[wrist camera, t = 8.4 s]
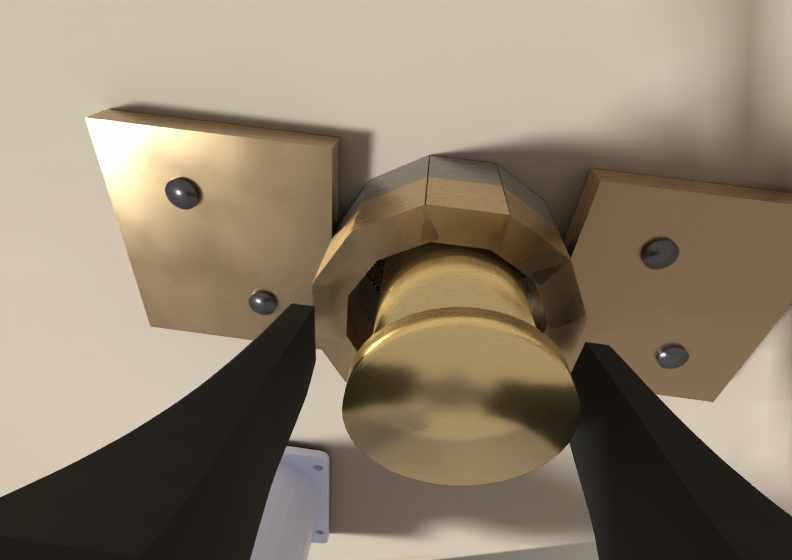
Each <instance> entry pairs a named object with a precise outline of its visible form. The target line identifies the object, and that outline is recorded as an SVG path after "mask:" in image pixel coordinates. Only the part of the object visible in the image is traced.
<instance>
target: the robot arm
mask: <svg viewBox="0 0 792 560" xmlns="http://www.w3.org/2000/svg"><path fill="white" fill-rule="evenodd" d="M315 362H316V349H315V306H309V305H302V304H294V303H292V304H290V305H289V306H288V307H287V308H286V309H285V310H284V311H283V312H282V313H281V314H280V315H279V316H278V317H277V318H276V319H275V320H274V321H273V322H272V323H271V324H270V325H269V326H268V327H267V328H266V329H265V330H264V331H263V332H262V333H261V334H260V335H259V336H258V337H257V338H255V339H254V340H253V341H252V342H251V343H250V344H249V345H248V346H247V347H246V348H245V349H244V350H242V351H241V352H240V353H239V354H238V355H237V356H236V357H235V358H233V359H232V360H231V361H230V362H229V363H227V364H226V365H225V366H224V367H223V368H221V369H220V370H219V371H218V372H217V373H215V374H214V375H213V376H212V377H211V378H209V379H208V380H207V381H205V382H204V383H203V384H201V385H200V386H199V387H198V388H196V389H195V390H194V391H192V392H191V393H189V394H188V395H187V396H185V397H184V398H182V399H181V400H180V401H178V402H177V403H175V404H174V405H172V406H171V407H169V408H168V409H166V410H165V411H163V412H162V413H160V414H159V415H157V416H155V417H154V418H152V419H151V420H149V421H148V422H146V423H144V424H143V425H141V426H140V427H138V428H136V429H135V430H133V431H131V432H130V433H128V434H126V435H125V436H123V437H121V438H119V439H117V440H116V441H114V442H112V443H110V444H108V445H107V446H105V447H103V448H101V449H99V450H97V451H96V452H94V453H92V454H90V455H88V456H86V457H84V458H82V459H80V460H79V461H77V462H75V463H73V464H71V465H69V466H67V467H65V468H63V469H61V470H58V471H56V472H54V473H52V474H50V475H48V476H46V477H43V478H41V479H39V480H37V481H35V482H33V483H31V484H28V485H26V486H24V487H22V488H20V489H18V490H16V491H13V492H11V493H9V494H7V495H4V496H2V497H0V560H307V558H308V554H309V549H310V545H311V542H313V543H321V544H323V543H326V542H327V541H328V538H329V455H328V454H327V453H325V452H324V451H320V450H312V449H305V448H298V447H291V446H287V444H288V441H289V439H290V436H291V434H292V431H293V428H294V426H295V423H296V421H297V418H298V416H299V413H300V411H301V408H302V406H303V403H304V401H305V398H306V395H307V392H308V388H309V385H310V381H311V377H312V373H313V369H314V366H315ZM571 376H572V379H573V382H574V385H575V388H576V391H577V393H578V397H579V402H580V419H579V424H578V427H577V429H576V432H575V434H574V436H573V437H572V439H571V440H570V442H569V443H570V446H571V450H572V454H573V457H574V461H575V464H576V468H577V471H578V475H579V478H580V482H581V485H582V489H583V492H584V496H585V499H586V503H587V506H588V510H589V513H590V517H591V522H592V526H593V530H594V534H595V540H596V545H597V551H598V556H599V560H792V516H790V515H789V514H788V513H786V512H785V511H784V510H783V509H781V508H780V507H779V506H777V505H776V504H775V503H773V502H772V501H771V500H770V499H768V498H767V497H766V496H765V495H763V494H762V493H761V492H760V491H758V490H757V489H756V488H755V487H754V486H752V485H751V484H750V483H749V482H748V481H747V480H745V479H744V478H743V477H742V476H741V475H740V474H738V473H737V472H736V471H735V470H734V469H732V468H731V467H730V466H729V465H728V464H727V463H725V462H724V461H723V460H722V459H721V458H720V457H719V456H718V455H717V454H715V453H714V452H713V451H712V450H711V449H710V448H709V447H708V446H707V445H706V444H705V443H704V442H703V441H702V440H701V439H699V438H698V437H697V436H696V435H695V434H694V433H693V432H692V431H691V430H690V429H689V428H688V427H687V426H686V425H685V424H684V423H683V422H682V421H681V420H680V419H679V418H678V417H677V416H676V415H675V414H674V413H673V412H672V411H671V410H670V409H669V408H668V407H667V406H666V405H665V404H664V403H663V402H662V401H661V400H660V399H659V397H658V396H657V395H656V394H655V393H654V392H653V391H652V390H651V389H650V388H649V387H648V386H647V385H646V384H645V383H644V381H643V380H642V379H641V378H640V377H639V376H638V375H637V374H636V373H635V372H634V371H633V370H632V369H631V367H630V366H629V365H628V364H627V363H626V362H625V361H624V360H623V359H622V358H621V357H620V356H619V355H618V354H617V353H616V352H615V351H614V350H613V349H612V348H611V347H610V346H609V345H605V344H598V343H590V342H585V344H584V346H583V348H582V350H581V352H580V355H579V357H578V359H577V361H576V363H575V365H574V367H573V369H572V372H571Z"/></svg>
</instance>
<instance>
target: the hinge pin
mask: <svg viewBox="0 0 792 560" xmlns="http://www.w3.org/2000/svg"><path fill="white" fill-rule="evenodd" d="M342 413H343V420H344V424H345V427H346V430H347V432H348V434H349V436H350V437H351V439H352V440H353V442H354V443H355V444H356V446H357V447H358V448H359V449H360V450H361V451H362V452H363V453H364V454H365V455H367V456H368V457H369V458H370V459H372V460H373V461H375V462H376V463H378V464H379V465H381V466H382V467H384V468H386V469H388V470H390V471H392V472H395V473H397V474H400V475H402V476H405V477H408V478H412V479H415V480H419V481H423V482H428V483H434V484H441V485H454V486H469V485H482V484H489V483H496V482H500V481H505V480H509V479H512V478H515V477H518V476H521V475H524V474H526V473H529V472H531V471H533V470H535V469H537V468H539V467H541V466H543V465H544V464H546V463H547V462H549V461H550V460H552V459H553V458H554V457H555V456H557V455H558V454H559V453H560V452H561V451H562V450H563V449H564V448H565V447H566V446H567V444H568V443H569V442H570V440H571V439H572V437H573V436H574V434H575V432H576V429H577V427H578V424H579V419H580V402H579V397H578V393H577V391H576V388H575V385H574V382H573V379H572V376H571V373H570V371H569V368H568V365H567V363H566V360H565V358H564V356H563V354H562V353H561V351H560V350H559V348H558V347H557V345H556V344H555V343H554V342H553V341H552V340H551V339H550V338H549V337H548V336H547V335H546V334H544V333H543V332H541V331H540V330H539V329H537V328H536V326H535V323H534V319H533V316H532V312H531V309H530V306H529V302H528V299H527V296H526V292H525V289H524V286H523V282H522V279H521V275H520V272H519V270H518V269H517V268H516V267H514V266H513V265H511V264H510V263H509V262H507V261H506V260H504V259H503V258H502V257H500V256H499V255H497V254H496V253H495V252H493V251H492V250H490V249H483V248H475V247H467V246H459V245H451V244H444V243H436V242H429V243H426V244H423V245H420V246H417V247H414V248H411V249H409V250H406V251H403V252H400V253H397V254H394V255H391V256H388V257H386V259H385V265H384V271H383V277H382V284H381V290H380V296H379V302H378V308H377V314H376V320H375V326H374V332H373V335H372V336H371V337H370V338H369V339H368V340H367V341H366V342H365V343H364V344H363V345H362V347H361V348H360V349H359V350H358V352H357V354H356V355H355V357H354V359H353V361H352V364H351V367H350V370H349V375H348V379H347V384H346V389H345V394H344V398H343V406H342Z"/></svg>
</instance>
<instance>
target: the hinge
mask: <svg viewBox="0 0 792 560" xmlns="http://www.w3.org/2000/svg"><path fill="white" fill-rule="evenodd" d="M85 119H86V122H87V125H88V128H89V132H90V135H91V138H92V141H93V144H94V147H95V151H96V154H97V157H98V160H99V163H100V167H101V170H102V173H103V176H104V179H105V183H106V186H107V189H108V192H109V195H110V199H111V202H112V205H113V208H114V211H115V214H116V218H117V221H118V224H119V227H120V230H121V234H122V237H123V240H124V243H125V246H126V250H127V253H128V256H129V259H130V262H131V266H132V269H133V272H134V275H135V278H136V281H137V285H138V288H139V291H140V294H141V297H142V301H143V304H144V307H145V310H146V313H147V317H148V320H149V323H150V326H151V327H159V328H166V329H174V330H181V331H189V332H196V333H204V334H211V335H219V336H226V337H233V338H241V339H248V340H254V339H255V338H257V337H258V336H259V335H260V334H261V333H262V332H263V331H264V330H265V329H266V328H267V327H268V326H269V325H270V324H271V323H272V322H273V321H274V320H275V319H276V318H277V317H278V316H279V315H280V314H281V313H282V312H283V311H284V310H285V309H286V308H287V307H288V306H289V305H290V304H292V303H294V304H302V305H309V306H315V349H322V350H323V352H324V353H325V354H326V356H327V357H328V359H329V360H330V361H331V363H332V364H333V365H334V367H335V368H336V370H337V371H338V372H339V374H340V375H341V376H342V378H343V379H344V381H346V382H347V379H348V375H349V370H350V367H351V364H352V361H353V359H354V357H355V355H356V354H357V352H358V350H359V349H360V348H361V347H362V345H363V344H364V343H365V342H366V341H367V340H368V339H369V338H370V337H371V336H372V335H373V332H374V326H375V320H376V314H377V308H378V302H379V296H378V294H377V292H376V290H375V289H374V287H373V285H372V284H371V282H370V280H369V278H368V277H367V275H366V273H367V272H368V271H369V270H370V269H371V267H372V266H373V265H374V264H375V263H376V261H377V260H380V259H383V258H386V257H388V256H391V255H394V254H397V253H400V252H403V251H406V250H409V249H411V248H414V247H417V246H420V245H423V244H426V243H429V242H436V243H444V244H451V245H459V246H467V247H475V248H483V249H490V250H492V251H493V252H495V253H496V254H497V255H499V256H500V257H502V258H503V259H504V260H506V261H507V262H509V263H510V264H511V265H513V266H514V267H516V268H517V269H518V270H520V271H521V272H523V274H522V277H521V279H522V282H523V286H524V289H525V292H526V296H527V299H528V302H529V306H530V309H531V312H532V316H533V319H534V323H535V326H536V328H537V329H539V330H540V331H541V332H543V333H544V334H546V335H547V336H548V337H549V338H550V339H551V340H552V341H553V342H554V343H555V344H556V345H557V347H558V348H559V350H560V351H561V353H562V354H563V356H564V358H565V360H566V363H567V365H568V368H569V371H570V373H571V372H572V369H573V367H574V365H575V363H576V361H577V359H578V357H579V355H580V352H581V350H582V348H583V346H584V344H585V342H590V343H598V344H605V345H609V346H610V347H611V348H612V349H613V350H614V351H615V352H616V353H617V354H618V355H619V356H620V357H621V358H622V359H623V360H624V361H625V362H626V363H627V364H628V365H629V366H630V367H631V369H632V370H633V371H634V372H635V373H636V374H637V375H638V376H639V377H640V378H641V379H642V380H643V381H644V383H645V384H646V385H647V386H648V387H649V388H650V389H651V390H652V391H653V392H654V393H655V394H658V395H666V396H673V397H680V398H688V399H695V400H703V401H710V402H714V400H715V399H716V398H717V397H718V395H719V394H720V393H721V392H722V390H723V389H724V388H725V386H726V385H727V384H728V383H729V381H730V380H731V379H732V378H733V376H734V375H735V374H736V373H737V371H738V370H739V369H740V368H741V366H742V365H743V364H744V362H745V361H746V360H747V359H748V357H749V356H750V355H751V354H752V352H753V351H754V350H755V349H756V347H757V346H758V345H759V343H760V342H761V341H762V340H763V338H764V337H765V336H766V335H767V333H768V332H769V331H770V330H771V328H772V327H773V326H774V325H775V323H776V322H777V321H778V319H779V318H780V317H781V316H782V314H783V313H784V312H785V311H786V309H787V308H788V307H789V306H790V304H791V303H792V193H789V192H781V191H773V190H764V189H756V188H748V187H740V186H732V185H723V184H715V183H707V182H699V181H691V180H683V179H674V178H666V177H658V176H650V175H642V174H633V173H625V172H617V171H609V170H601V169H593V168H591V169H590V172H589V175H588V177H587V180H586V183H585V186H584V188H583V191H582V194H581V197H580V199H579V202H578V205H577V208H576V210H575V213H574V216H573V218H572V221H571V224H570V227H569V229H568V232H567V235H566V238H565V240H564V243H563V241H562V239H561V236H560V234H559V232H558V230H557V227H556V225H555V223H554V221H553V219H552V216H551V214H550V212H549V210H548V207H547V205H546V203H545V201H544V200H542V199H541V198H540V197H539V196H537V195H536V194H535V193H534V192H532V191H531V190H530V189H528V188H527V187H526V186H525V185H523V184H522V183H521V182H520V181H518V180H517V179H516V178H514V177H513V176H512V175H511V174H509V173H508V172H507V171H506V170H504V169H503V168H502V167H500V166H499V165H498V164H496V163H489V162H481V161H473V160H465V159H457V158H448V157H440V156H432V155H430V156H426V157H424V158H422V159H419V160H417V161H414V162H412V163H410V164H407V165H405V166H402V167H400V168H397V169H395V170H393V171H390V172H388V173H385V174H383V175H381V176H378V177H376V178H373V179H371V180H370V181H369V182H368V184H367V185H366V186H365V188H364V189H363V191H362V192H361V193H360V195H359V196H358V198H357V199H356V200H355V202H354V203H353V204H352V206H351V207H350V209H349V210H348V211H347V213H346V214H345V216H344V217H343V218H342V220H341V221H340V223H339V224H338V188H339V137H331V136H323V135H314V134H306V133H298V132H290V131H282V130H273V129H265V128H257V127H249V126H241V125H233V124H224V123H216V122H208V121H200V120H192V119H183V118H175V117H167V116H159V115H151V114H143V113H134V112H126V111H118V110H110V109H107V110H104V111H101V112H99V113H96V114H94V115H91V116H88V117H86V118H85Z"/></svg>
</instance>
